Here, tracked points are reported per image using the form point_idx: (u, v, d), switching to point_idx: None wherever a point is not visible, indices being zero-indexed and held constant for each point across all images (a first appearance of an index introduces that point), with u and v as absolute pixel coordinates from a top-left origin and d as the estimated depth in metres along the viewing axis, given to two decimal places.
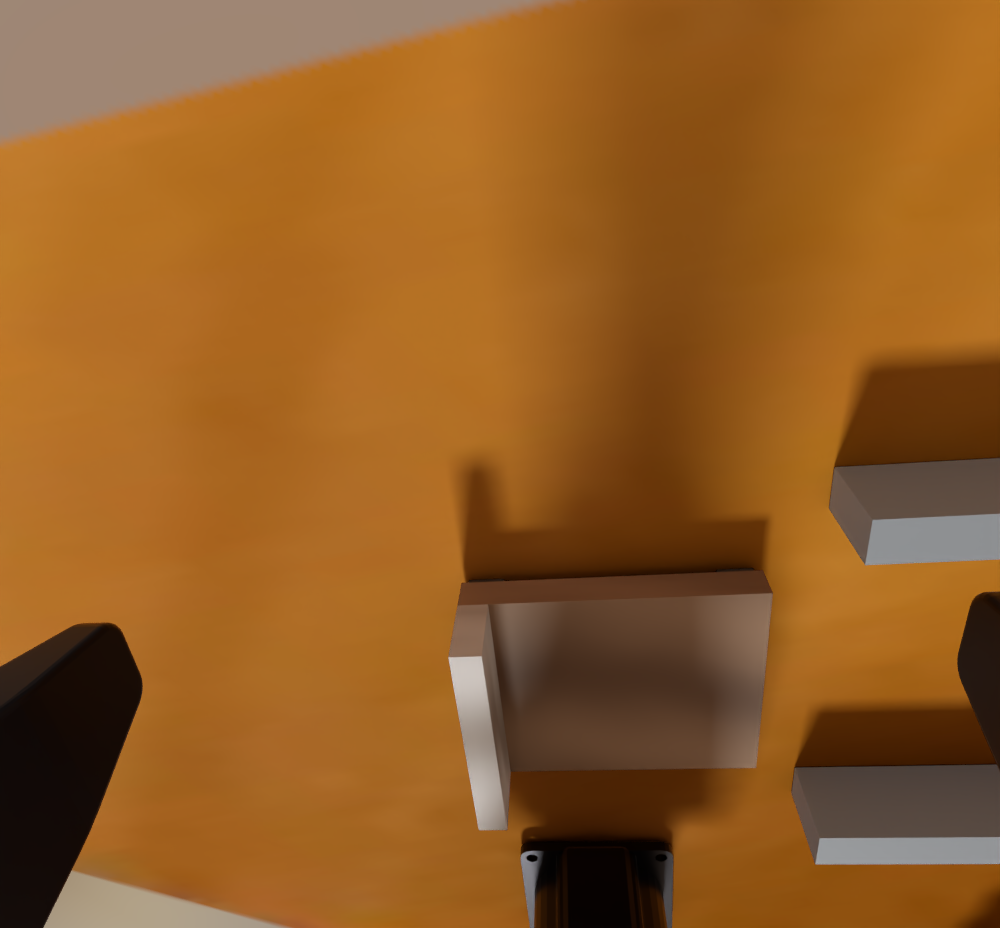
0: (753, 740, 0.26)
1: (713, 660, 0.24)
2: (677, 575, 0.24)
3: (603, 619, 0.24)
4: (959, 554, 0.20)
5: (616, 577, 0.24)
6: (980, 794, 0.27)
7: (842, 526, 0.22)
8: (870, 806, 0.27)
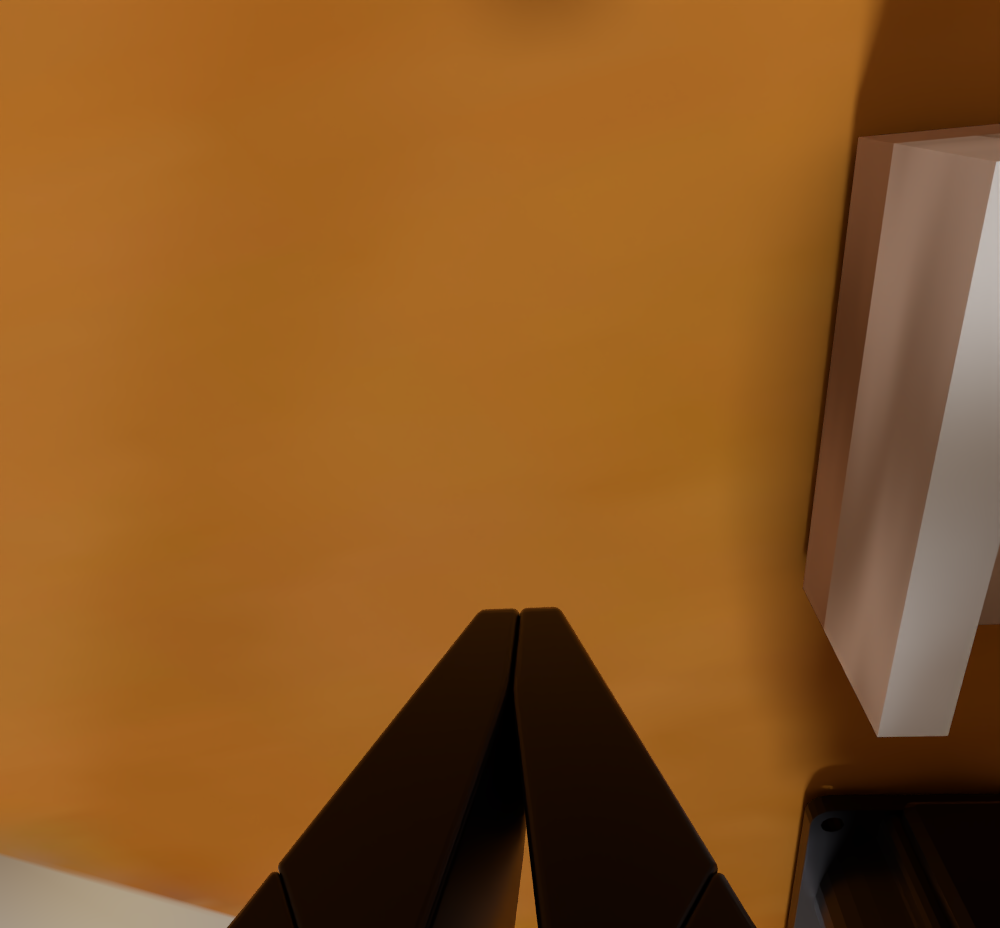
0: None
1: None
2: None
3: None
4: None
5: None
6: None
7: None
8: None
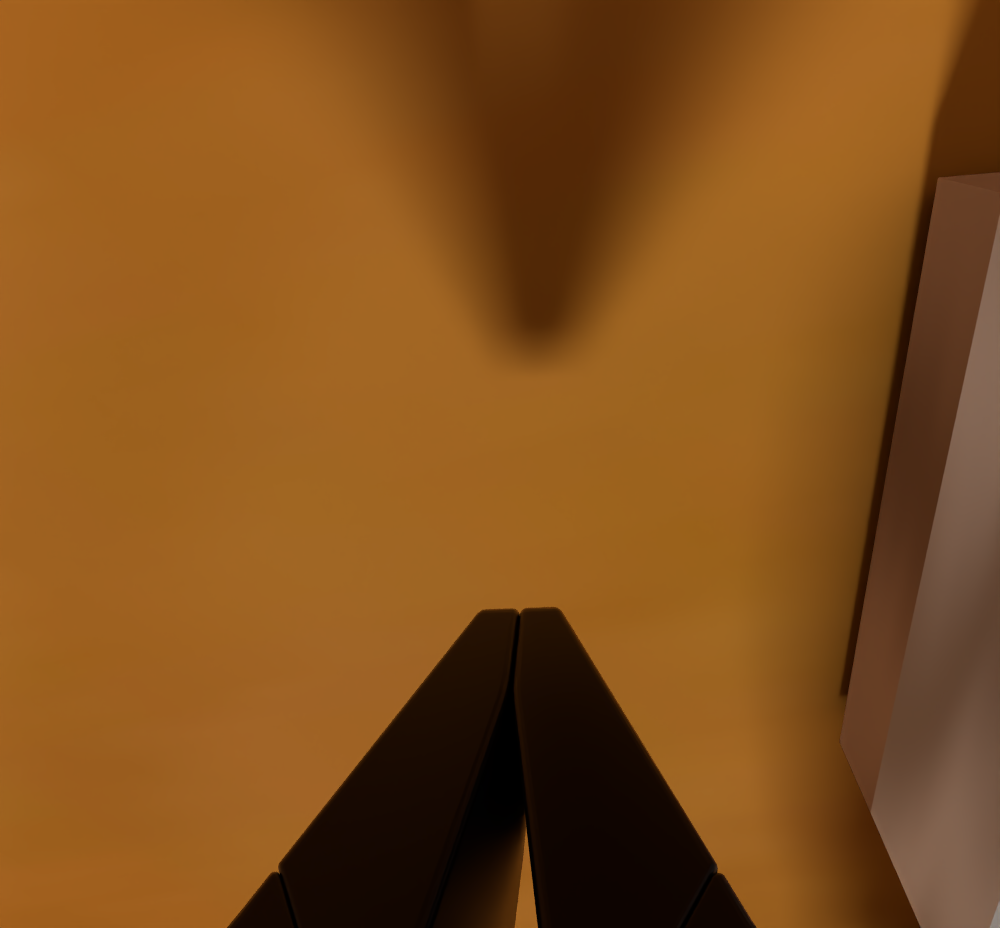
0: None
1: None
2: None
3: None
4: None
5: None
6: None
7: None
8: None
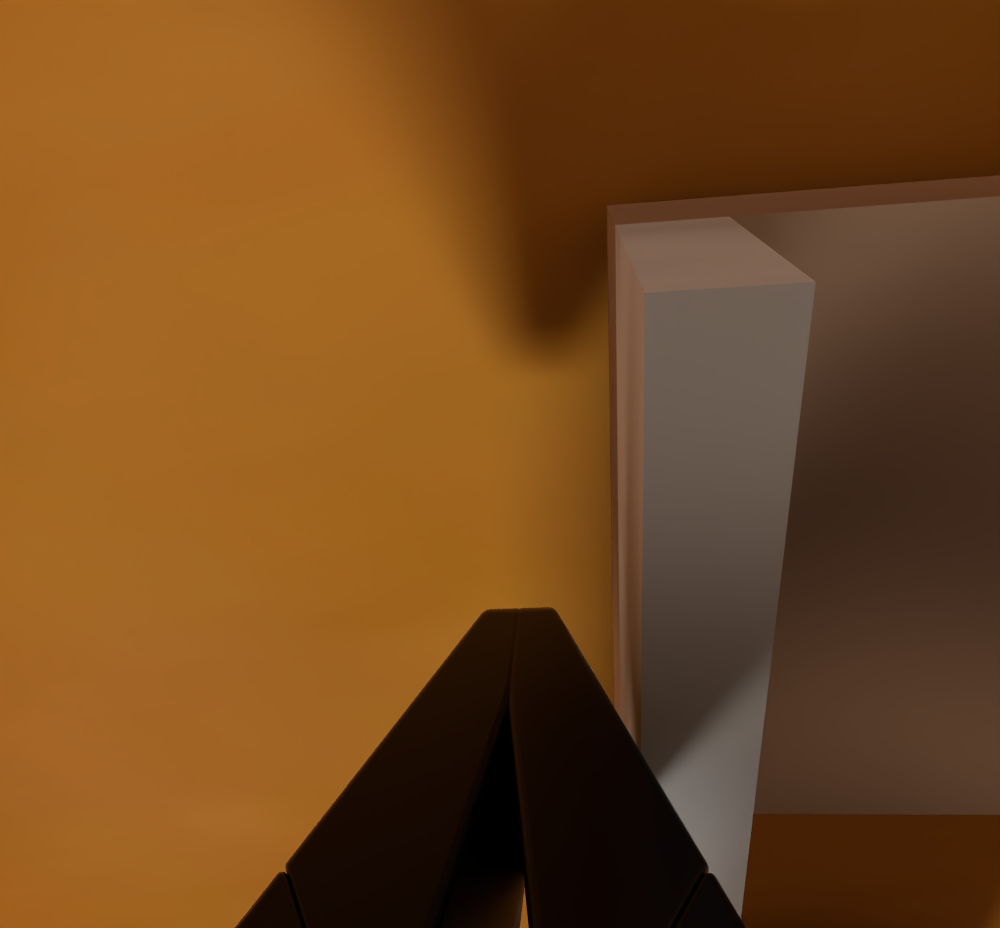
0: None
1: None
2: None
3: None
4: None
5: None
6: None
7: None
8: None
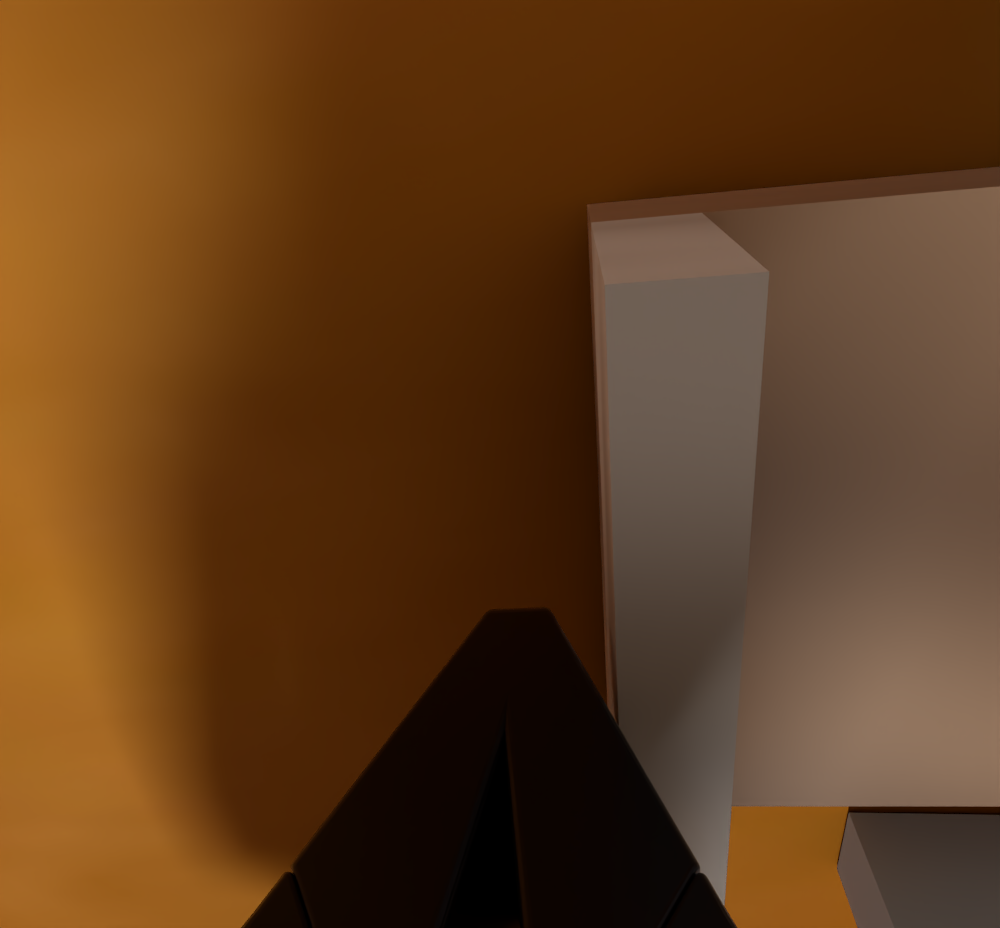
0: None
1: None
2: None
3: None
4: None
5: None
6: None
7: None
8: None
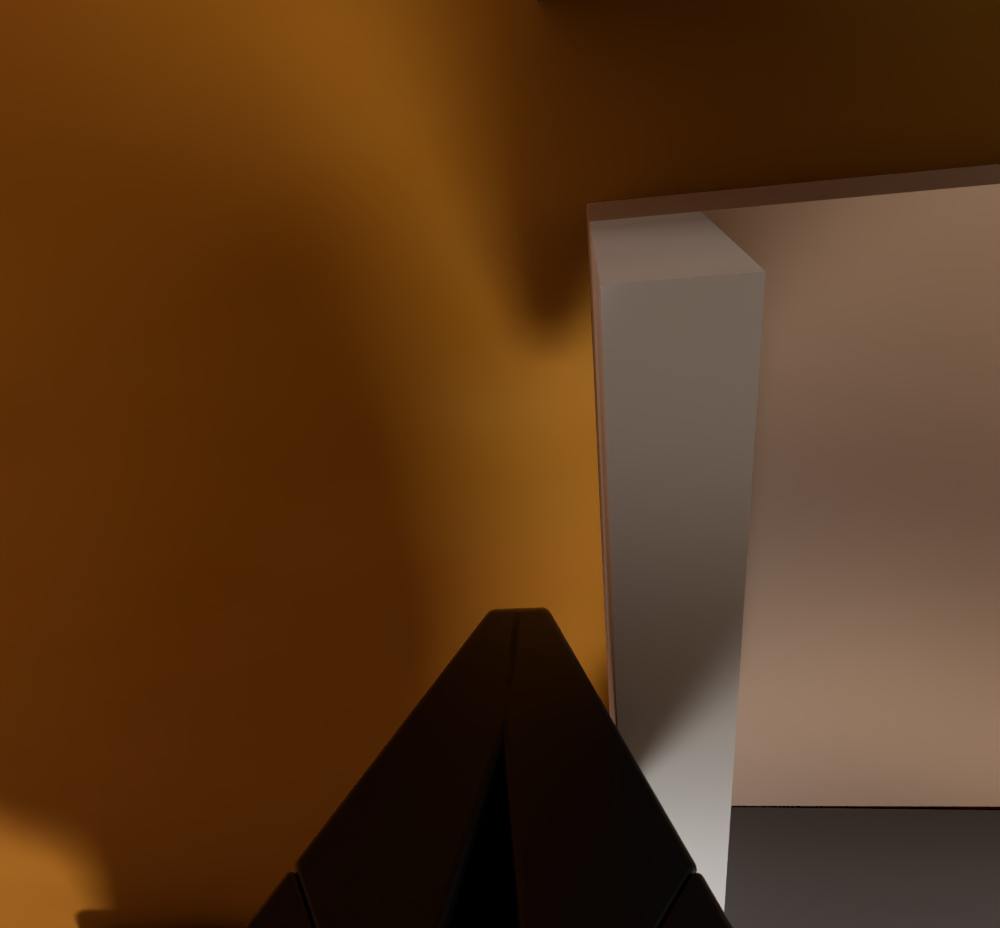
0: None
1: None
2: None
3: None
4: None
5: None
6: None
7: None
8: (730, 909, 0.11)
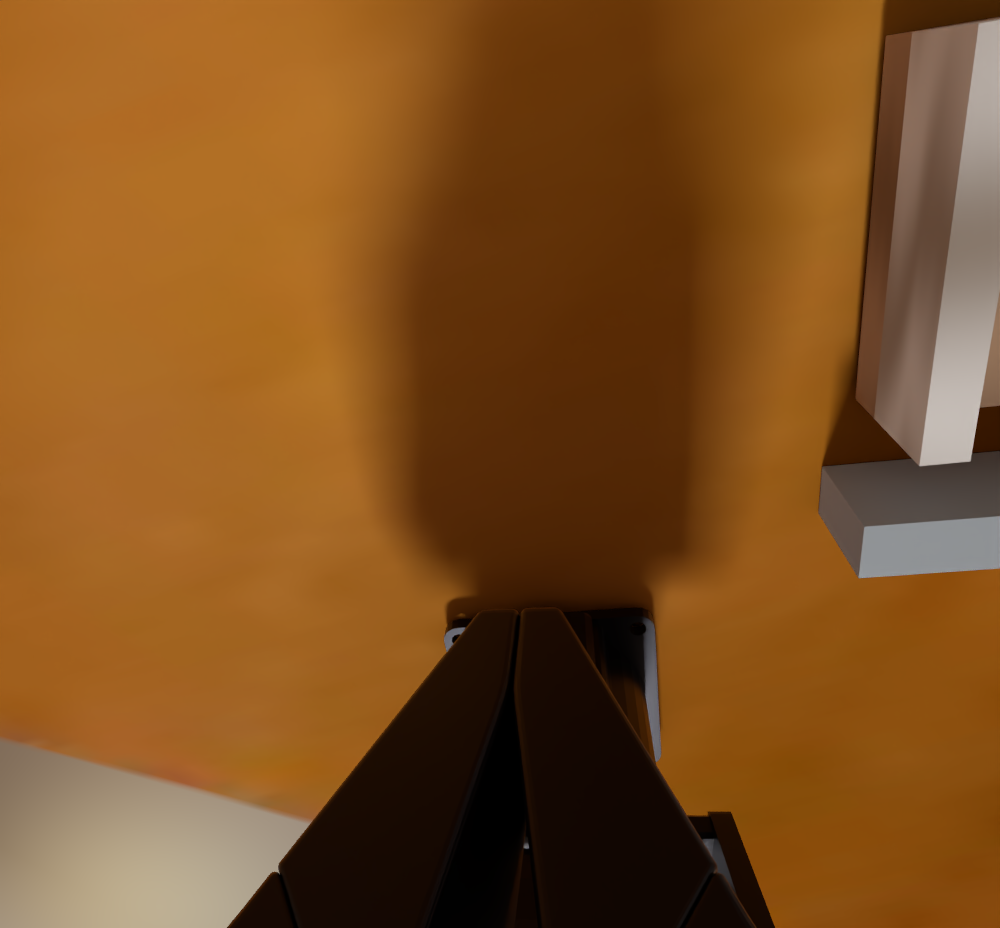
0: None
1: None
2: None
3: None
4: None
5: None
6: None
7: None
8: (938, 491, 0.18)
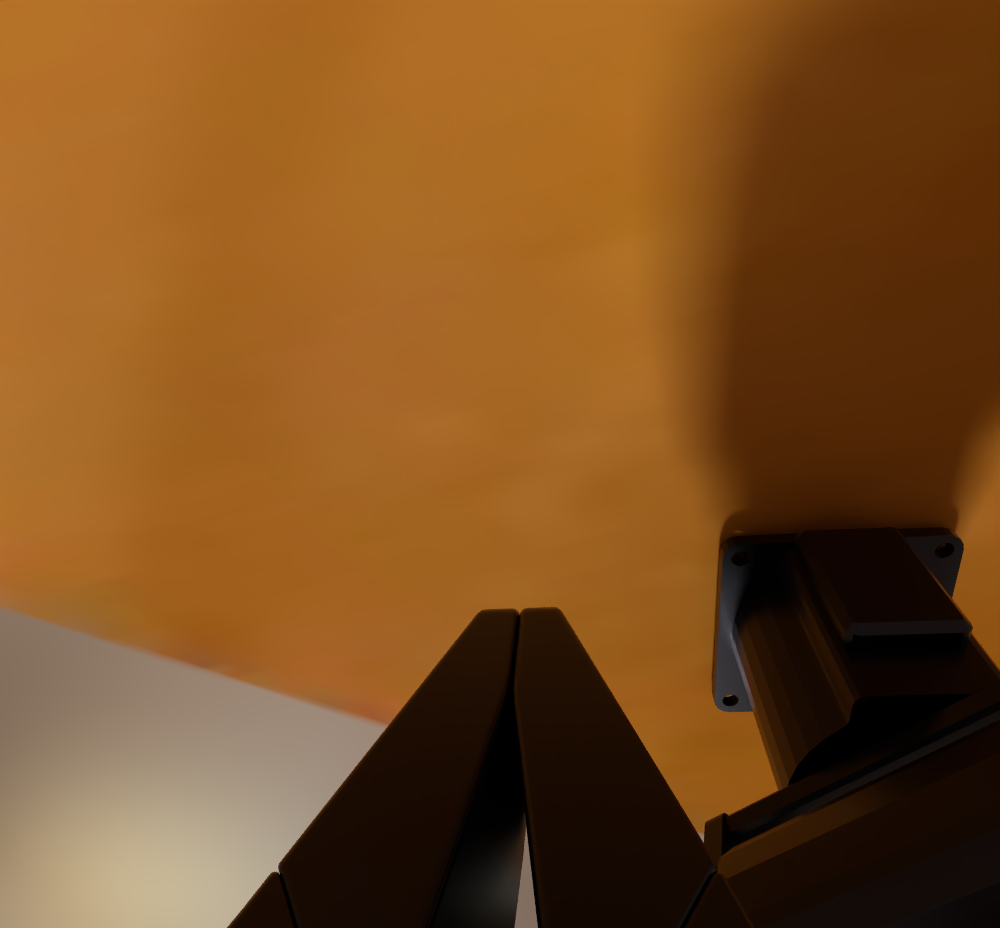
0: None
1: None
2: None
3: None
4: None
5: None
6: None
7: None
8: None
